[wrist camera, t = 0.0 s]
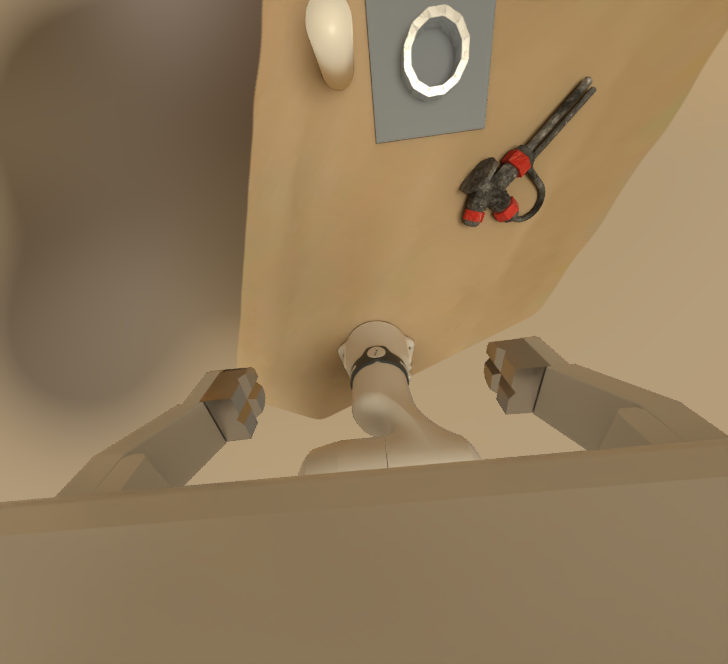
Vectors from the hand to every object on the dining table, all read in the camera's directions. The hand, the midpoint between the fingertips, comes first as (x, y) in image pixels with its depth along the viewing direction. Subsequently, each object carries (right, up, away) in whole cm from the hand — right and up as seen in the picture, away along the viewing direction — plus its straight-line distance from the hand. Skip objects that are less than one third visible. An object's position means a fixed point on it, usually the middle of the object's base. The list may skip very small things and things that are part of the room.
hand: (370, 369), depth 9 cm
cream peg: (-5, +43, +30) cm, 53 cm away
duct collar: (+10, +42, +31) cm, 53 cm away
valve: (+29, +31, +39) cm, 57 cm away
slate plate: (+10, +42, +31) cm, 53 cm away
